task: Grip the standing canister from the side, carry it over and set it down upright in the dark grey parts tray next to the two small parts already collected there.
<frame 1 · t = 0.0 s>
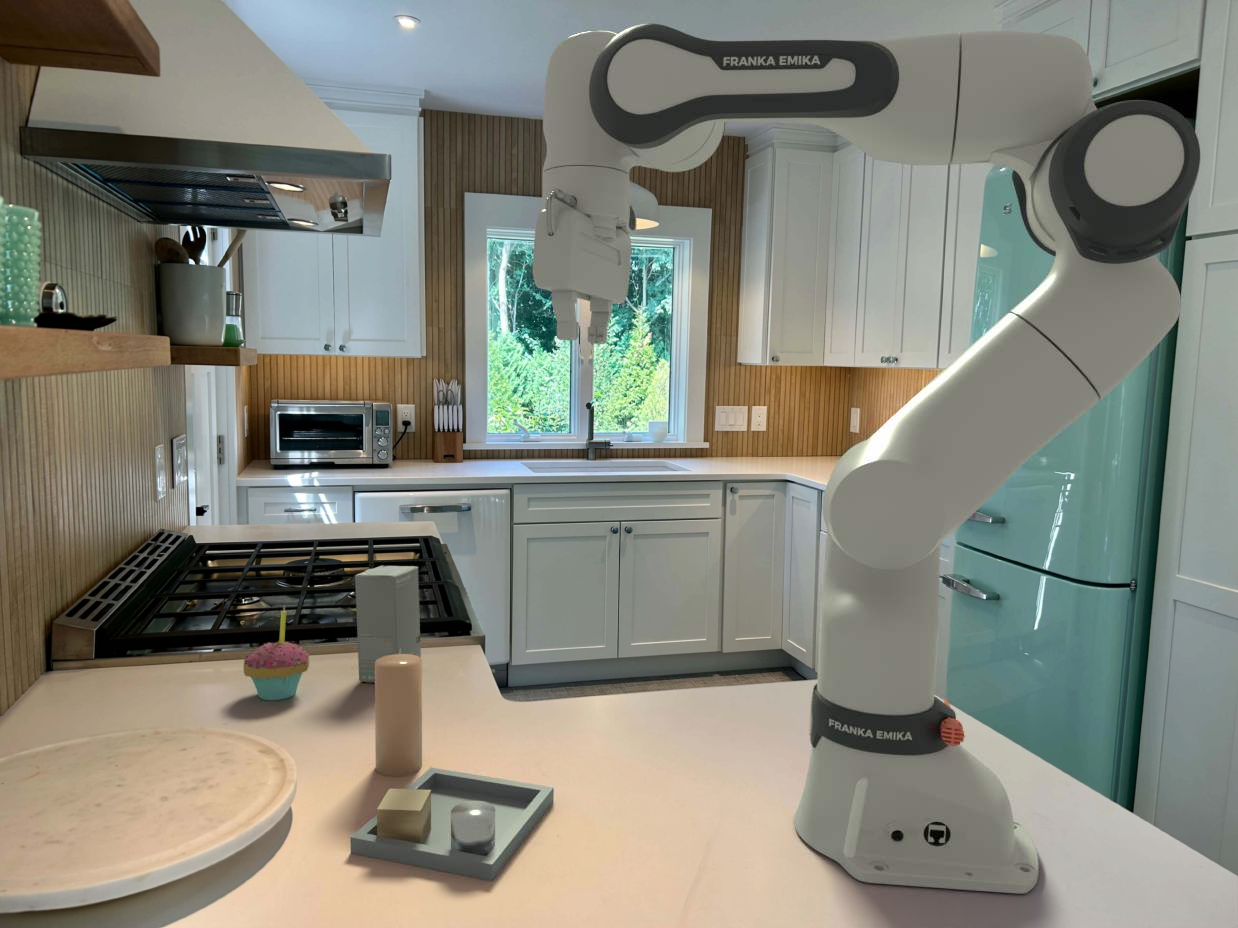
hand: (583, 342, 91), 48 cm above the countertop, tool pointing down, fingers open, 8 cm apart
canister: (399, 774, 98), on the countertop
skincare box: (389, 676, 130), on the countertop
cupcake: (278, 695, 121), on the countertop
parts tray: (458, 835, 86), on the countertop
part oak: (404, 839, 83), point 1 cm above the countertop, touching parts tray
part metal: (473, 852, 81), point 1 cm above the countertop, touching parts tray
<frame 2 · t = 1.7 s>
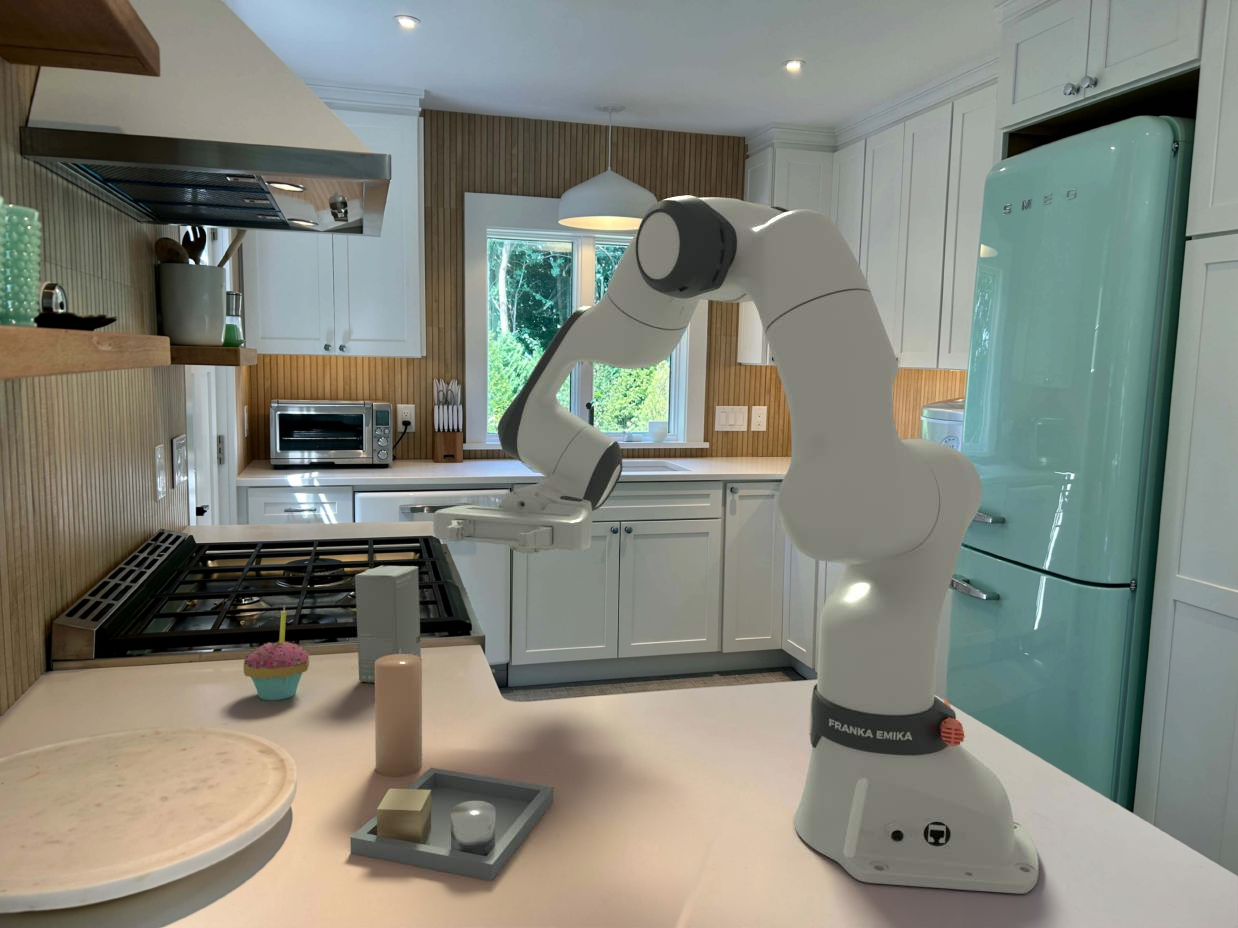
hand: (487, 537, 106), 25 cm above the countertop, tool horizontal, fingers open, 8 cm apart
nothing on the countertop moved.
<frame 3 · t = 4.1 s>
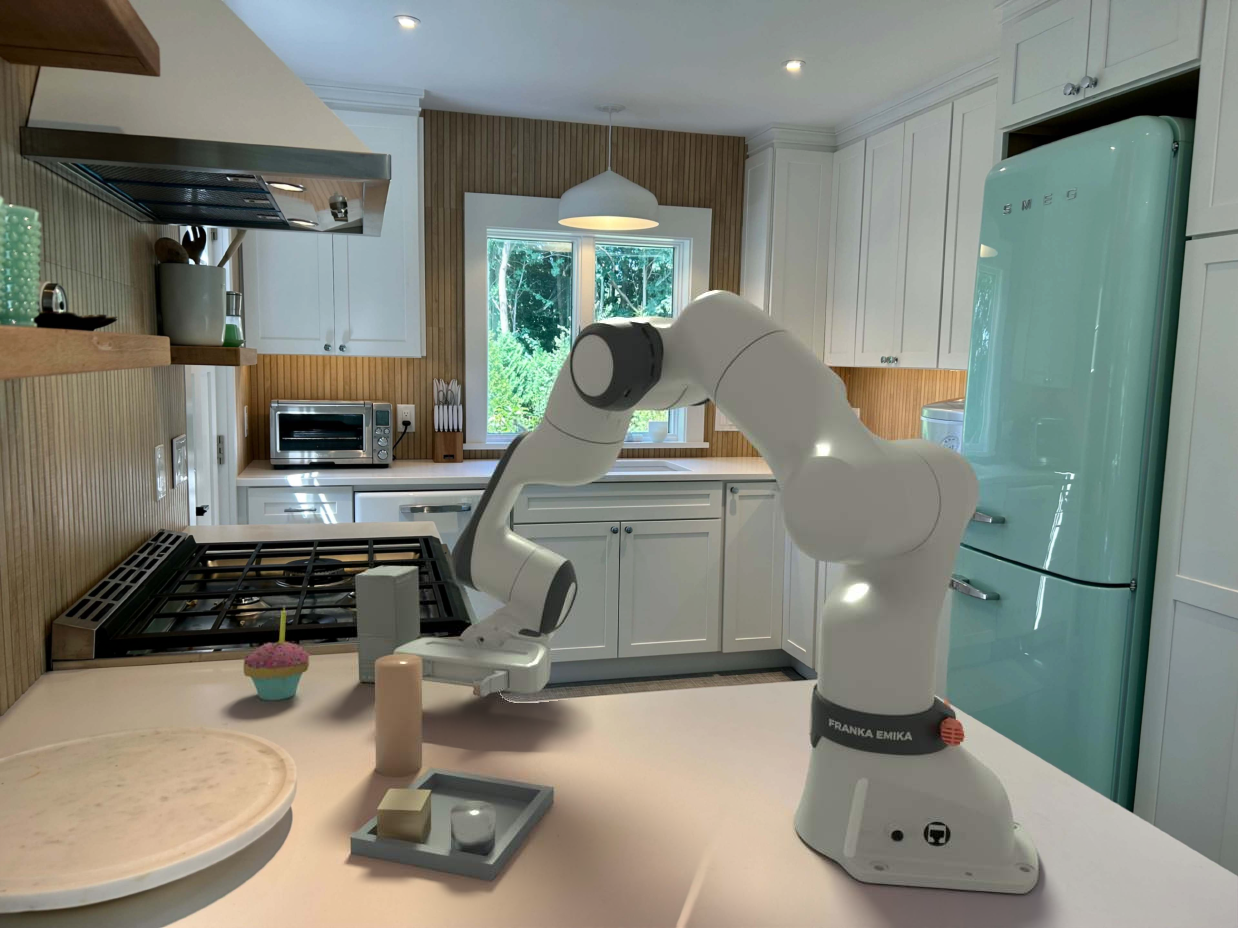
hand: (442, 684, 107), 7 cm above the countertop, tool horizontal, fingers open, 8 cm apart
nothing on the countertop moved.
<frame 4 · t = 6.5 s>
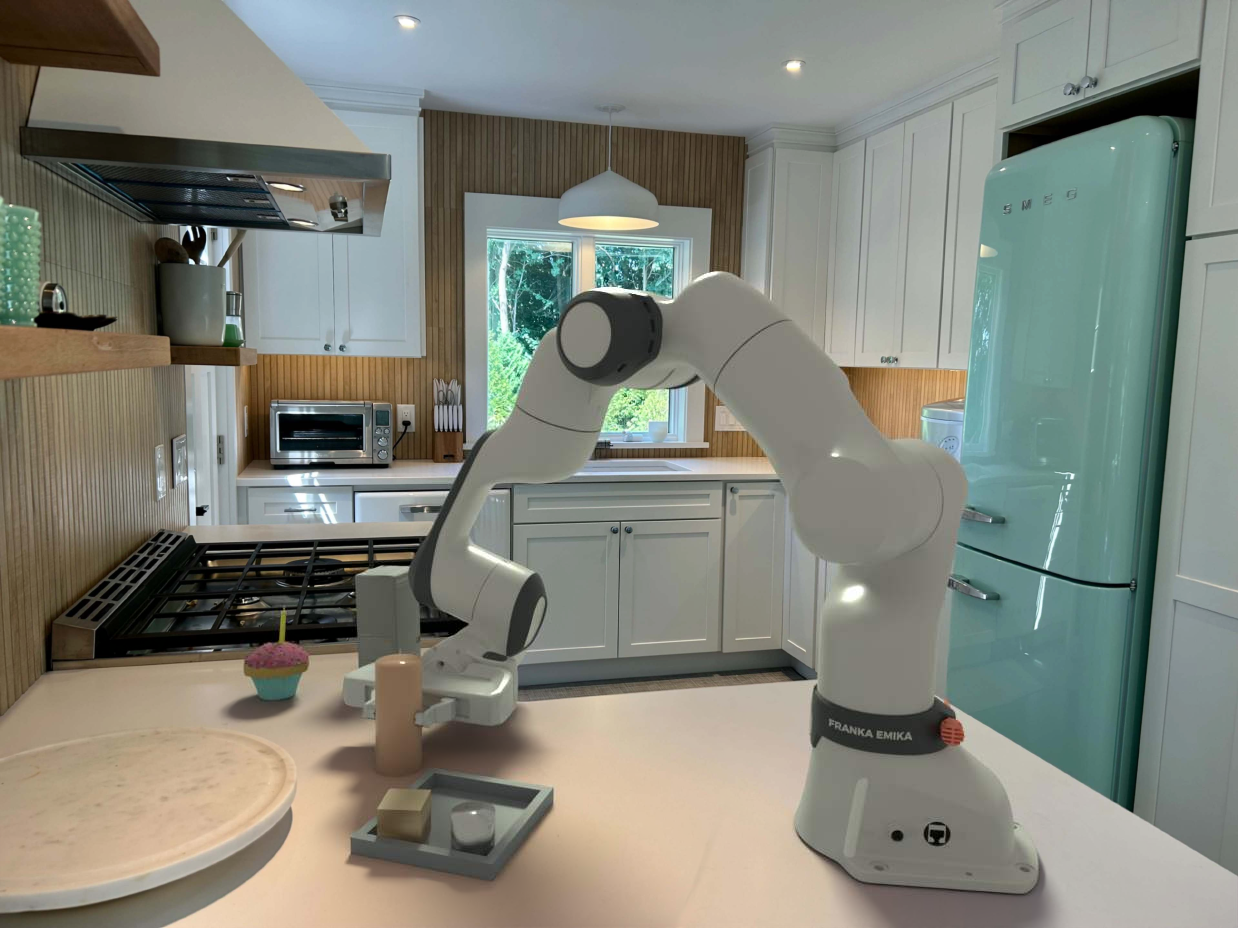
hand: (394, 716, 96), 7 cm above the countertop, tool horizontal, fingers closed on canister, 5 cm apart
canister: (398, 774, 98), on the countertop, touching gripper
everything else where it was.
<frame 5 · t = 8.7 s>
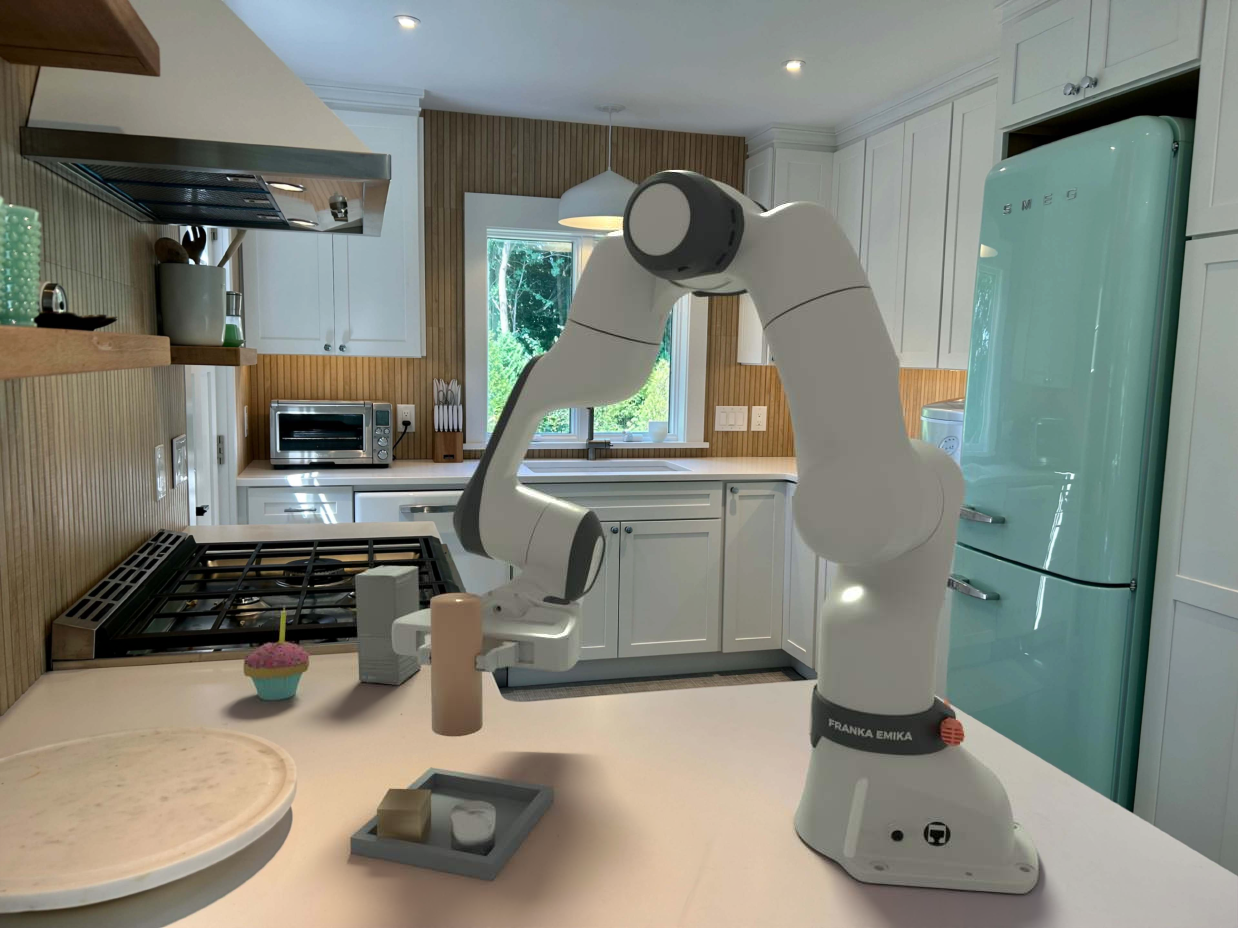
hand: (452, 660, 87), 16 cm above the countertop, tool horizontal, fingers closed on canister, 5 cm apart
canister: (457, 726, 88), point 9 cm above the countertop, touching gripper
everything else where it was.
when the fingers open (9 cm above the countertop, at t = 10.9 s): canister stays where it is, resting on parts tray.
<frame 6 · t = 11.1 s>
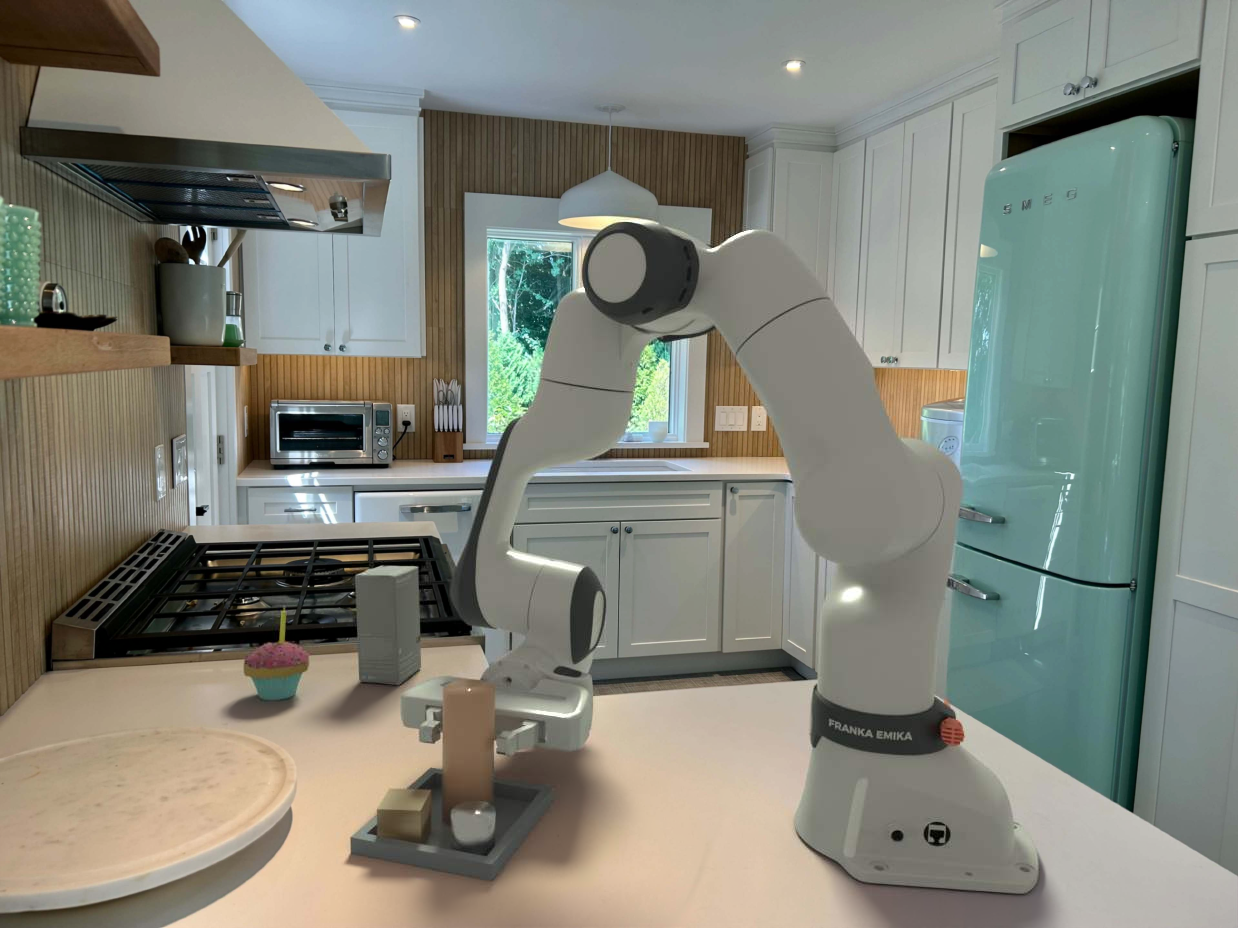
hand: (463, 741, 86), 9 cm above the countertop, tool horizontal, fingers open, 7 cm apart
canister: (467, 815, 87), point 1 cm above the countertop, touching parts tray
everything else where it was.
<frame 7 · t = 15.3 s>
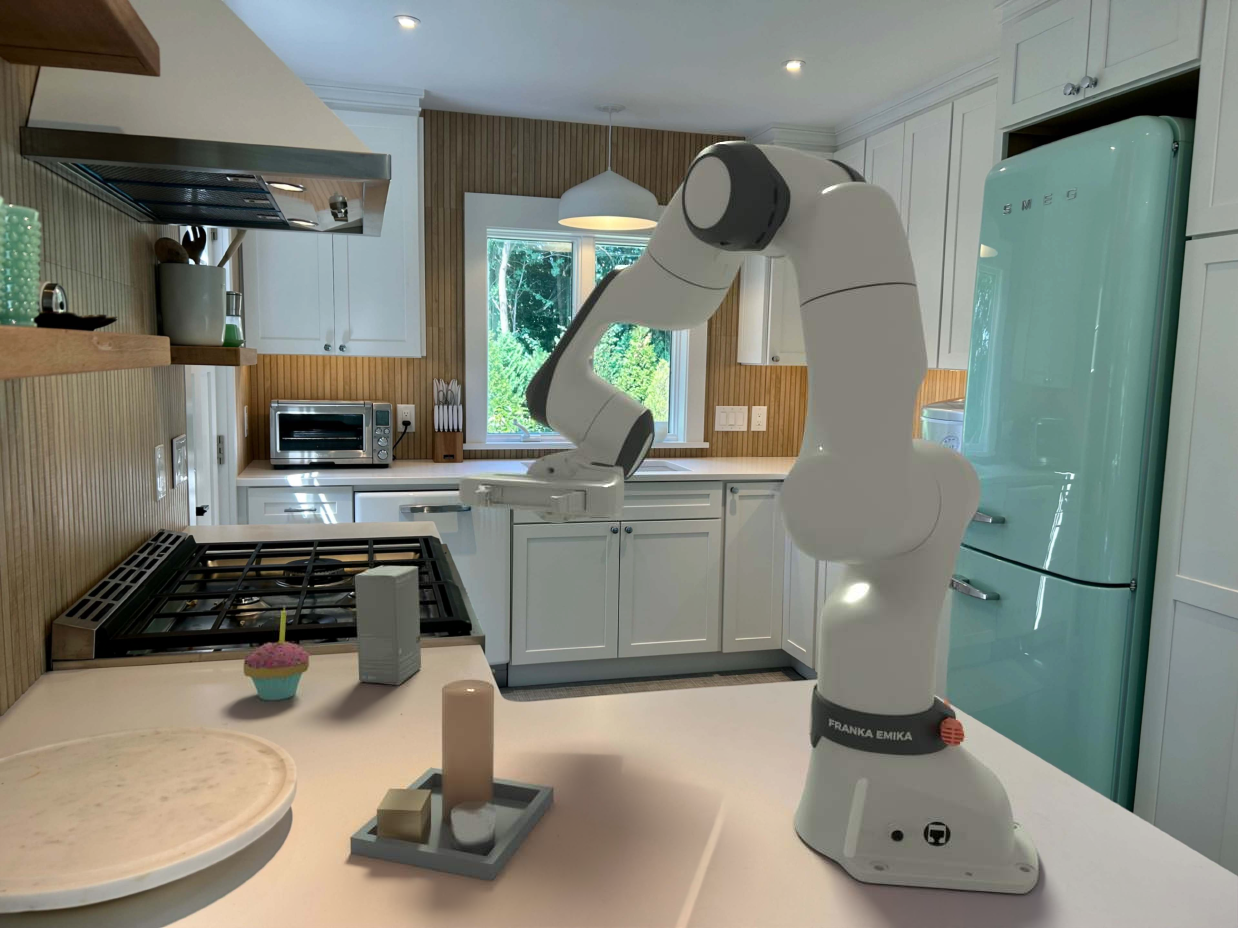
hand: (517, 501, 101), 30 cm above the countertop, tool horizontal, fingers open, 8 cm apart
nothing on the countertop moved.
at the end: canister inside the target area on the parts tray (2.0 cm from its centre), point 1.0 cm above the parts tray's base; canister tilted 0°; the gripper is holding nothing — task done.
